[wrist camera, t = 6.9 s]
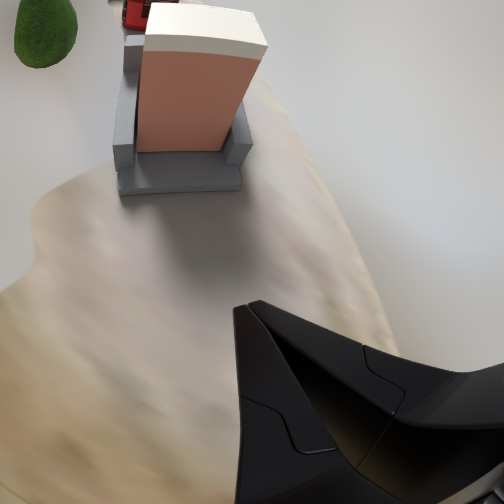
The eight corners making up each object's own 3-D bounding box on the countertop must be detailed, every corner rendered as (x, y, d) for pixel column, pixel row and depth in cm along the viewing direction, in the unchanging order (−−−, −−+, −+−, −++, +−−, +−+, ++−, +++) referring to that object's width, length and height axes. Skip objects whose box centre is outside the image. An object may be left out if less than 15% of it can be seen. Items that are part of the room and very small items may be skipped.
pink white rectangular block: (219, 151, 23) (268, 46, 13) (137, 152, 21) (145, 34, 11) (213, 110, 25) (252, 12, 15) (139, 110, 22) (151, 2, 12)
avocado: (27, 57, 21) (18, -15, 10) (80, 41, 24) (82, -34, 13) (16, 92, 19) (-2, 9, 8) (77, 73, 22) (74, -17, 12)
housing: (241, 190, 24) (273, 141, 18) (115, 196, 20) (107, 140, 14) (222, 91, 27) (242, 41, 21) (124, 89, 24) (127, 35, 17)
